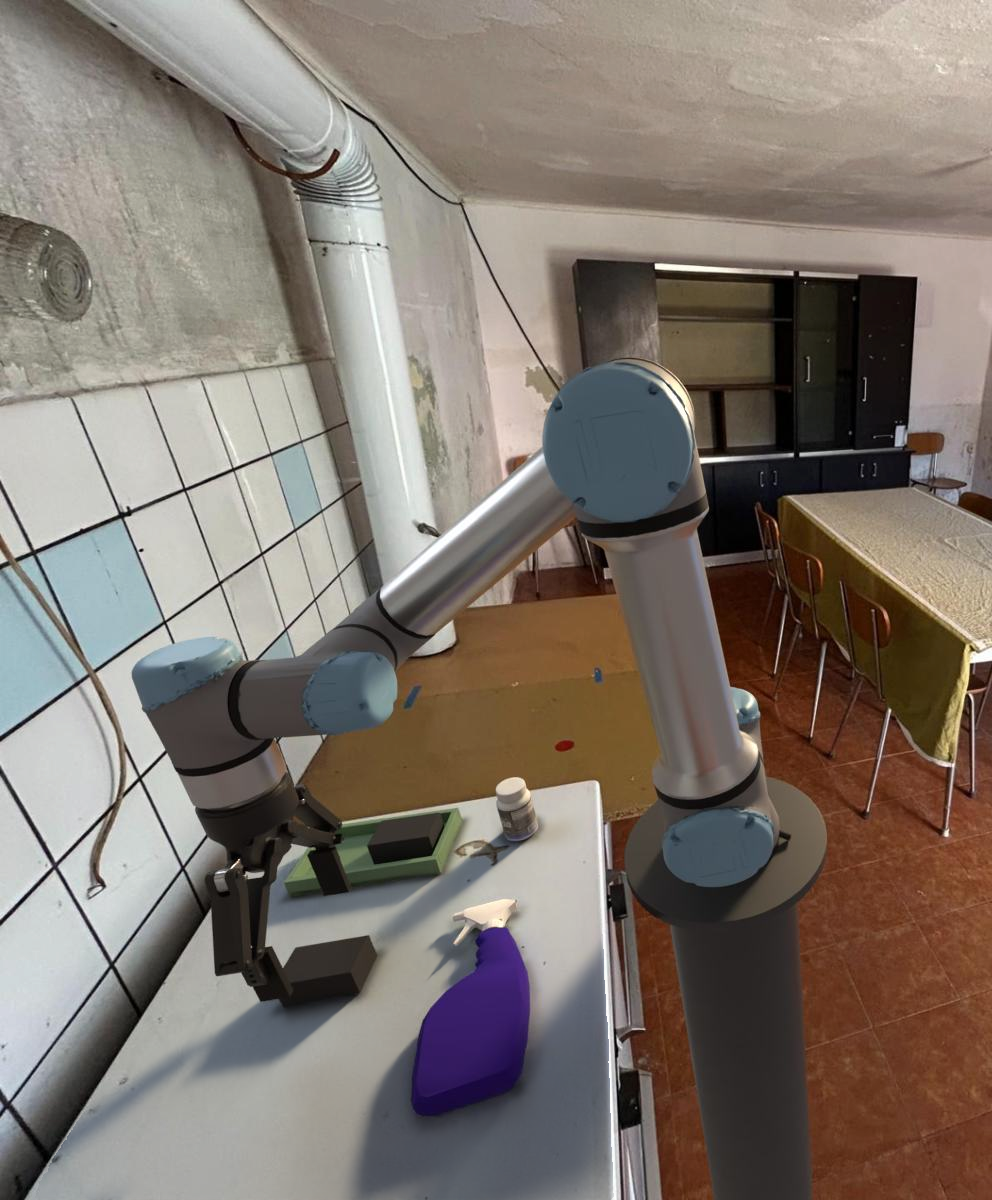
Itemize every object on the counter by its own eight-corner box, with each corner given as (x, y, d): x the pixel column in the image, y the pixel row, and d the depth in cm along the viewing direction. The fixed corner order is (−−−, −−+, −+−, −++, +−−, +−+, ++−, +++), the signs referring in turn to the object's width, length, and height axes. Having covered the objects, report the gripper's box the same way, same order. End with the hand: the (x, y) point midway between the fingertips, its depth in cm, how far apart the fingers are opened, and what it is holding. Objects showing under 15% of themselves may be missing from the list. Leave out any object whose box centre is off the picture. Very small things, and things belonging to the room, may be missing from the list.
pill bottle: (500, 830, 98) (487, 785, 95) (531, 815, 101) (520, 770, 98) (511, 847, 95) (499, 801, 91) (543, 830, 98) (532, 785, 94)
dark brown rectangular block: (377, 955, 79) (369, 934, 78) (360, 993, 75) (350, 972, 73) (305, 967, 78) (295, 947, 77) (282, 1007, 73) (271, 986, 72)
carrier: (462, 820, 100) (458, 807, 99) (440, 873, 91) (435, 859, 90) (327, 840, 97) (321, 827, 96) (290, 897, 88) (283, 882, 87)
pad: (445, 830, 97) (439, 812, 96) (435, 855, 93) (428, 836, 91) (388, 839, 96) (381, 820, 95) (374, 864, 92) (366, 845, 90)
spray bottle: (523, 1068, 64) (532, 883, 85) (397, 1111, 60) (439, 908, 82) (529, 1087, 65) (536, 900, 86) (406, 1131, 61) (445, 925, 83)
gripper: (269, 722, 76) (326, 862, 84) (99, 892, 53) (200, 1059, 62) (340, 715, 77) (389, 853, 85) (203, 878, 54) (288, 1044, 63)
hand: (310, 940), depth 74 cm, fingers open, 13 cm apart
